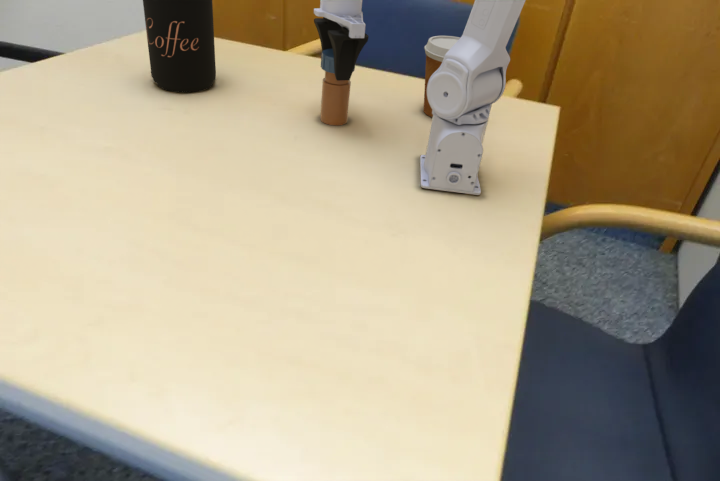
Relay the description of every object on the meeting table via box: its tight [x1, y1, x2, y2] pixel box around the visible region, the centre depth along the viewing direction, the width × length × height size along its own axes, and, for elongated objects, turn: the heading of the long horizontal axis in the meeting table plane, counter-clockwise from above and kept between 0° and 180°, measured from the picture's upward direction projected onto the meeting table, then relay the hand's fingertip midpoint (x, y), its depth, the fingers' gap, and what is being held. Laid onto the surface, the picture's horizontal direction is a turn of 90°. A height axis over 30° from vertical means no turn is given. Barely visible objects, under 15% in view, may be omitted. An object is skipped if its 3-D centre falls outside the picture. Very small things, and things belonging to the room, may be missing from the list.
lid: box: [320, 49, 356, 74], centre depth 84 cm, size 5×5×2 cm
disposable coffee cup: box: [423, 35, 461, 118], centre depth 94 cm, size 10×10×12 cm
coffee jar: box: [142, 0, 217, 94], centre depth 91 cm, size 11×11×18 cm
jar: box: [319, 71, 352, 126], centre depth 87 cm, size 4×4×8 cm
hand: (336, 73), depth 85 cm, fingers closed on lid, 5 cm apart
